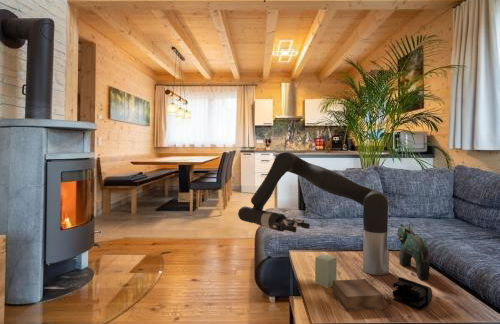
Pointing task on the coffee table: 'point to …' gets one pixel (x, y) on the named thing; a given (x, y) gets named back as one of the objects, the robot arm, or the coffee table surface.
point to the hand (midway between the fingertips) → (302, 228)
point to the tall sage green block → (325, 270)
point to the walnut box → (357, 295)
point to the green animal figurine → (413, 251)
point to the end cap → (412, 294)
